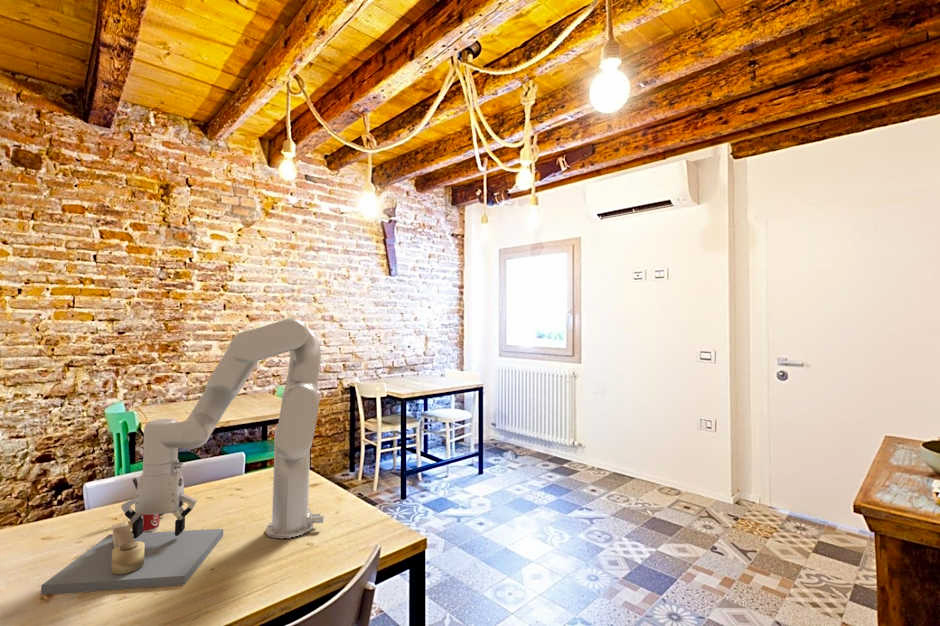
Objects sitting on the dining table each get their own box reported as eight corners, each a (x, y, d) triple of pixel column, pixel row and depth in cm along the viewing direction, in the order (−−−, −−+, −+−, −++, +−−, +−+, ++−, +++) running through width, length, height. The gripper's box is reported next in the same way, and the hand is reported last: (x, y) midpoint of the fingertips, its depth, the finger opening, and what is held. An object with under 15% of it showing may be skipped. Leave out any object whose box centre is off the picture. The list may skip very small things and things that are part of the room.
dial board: (223, 536, 126) (223, 528, 126) (184, 584, 103) (185, 575, 103) (108, 542, 122) (109, 534, 122) (41, 594, 98) (41, 584, 98)
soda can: (147, 534, 126) (149, 490, 127) (131, 532, 128) (133, 488, 128) (163, 526, 132) (165, 483, 132) (148, 524, 133) (149, 482, 133)
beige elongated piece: (134, 535, 121) (134, 516, 121) (145, 567, 105) (146, 545, 105) (104, 542, 117) (105, 522, 117) (112, 577, 101) (113, 554, 101)
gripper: (202, 462, 125) (200, 526, 124) (131, 465, 122) (129, 530, 121) (190, 471, 117) (188, 539, 117) (114, 474, 114) (112, 544, 114)
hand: (158, 534), depth 119 cm, fingers open, 9 cm apart
